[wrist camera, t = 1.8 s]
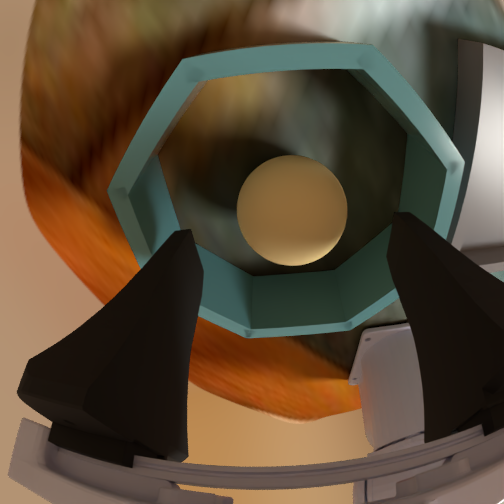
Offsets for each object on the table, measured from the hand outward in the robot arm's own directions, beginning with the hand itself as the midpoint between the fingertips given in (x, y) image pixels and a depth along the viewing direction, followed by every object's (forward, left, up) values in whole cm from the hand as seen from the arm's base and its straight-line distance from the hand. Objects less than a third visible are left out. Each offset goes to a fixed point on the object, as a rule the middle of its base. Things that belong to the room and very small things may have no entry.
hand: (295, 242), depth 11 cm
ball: (0, 0, -2) cm, 2 cm away
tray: (+1, -15, -4) cm, 16 cm away
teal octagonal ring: (0, 0, -4) cm, 4 cm away
